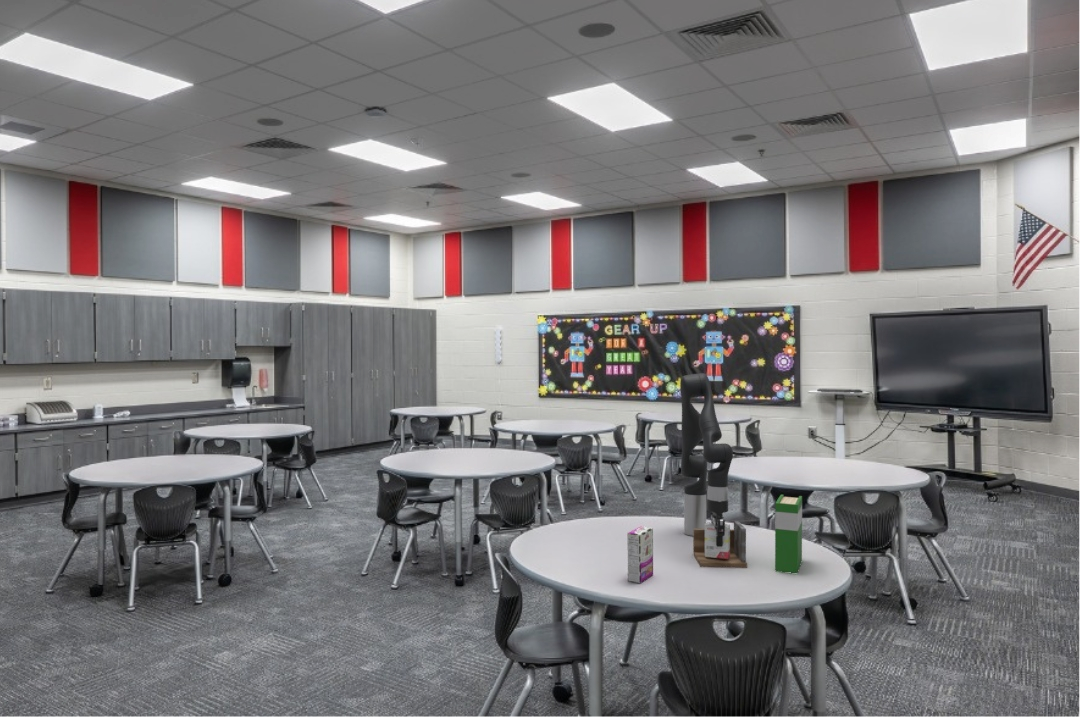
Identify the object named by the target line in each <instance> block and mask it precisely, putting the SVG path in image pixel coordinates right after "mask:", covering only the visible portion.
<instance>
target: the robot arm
mask: <svg viewBox="0 0 1080 717" xmlns="http://www.w3.org/2000/svg"><path fill="white" fill-rule="evenodd" d="M679 382H680V383H679V384H680V385H679V386H680V389H679V390H680V398H681V458H680V471H681V476H683V477H684V478H692V479H693V478H695V479H698V480H697V481H695V482H693V483H691V484H688V485H687V484H686V485H685V486H684V490H683V491H684V496H683V497H684V498H683V499H684V500H683V501H684V502H683V504H684V507H683V509H684V510H683V511H684V512H683V515H684V516H683V517H684V518H683V521H684V522H683V523H684V524H683V530H684V531H683V534H685V535H687V536H689V537H690V536H692V537H693V529H705V524H706V523H707V512H710V523H714V529H715V530H716V546H717V547H722V546H723V536H724V535H725V524H726V519H725V517H724V516H723V514H725V513H727V512H729V487H728V485H729V484H728V483H729V482H728V481H729V480H728V476H729V472H730V468H731V464H732V461H733V457H734V452H733V451H734V450H733V447H732V446H731V445H730V444H728V443H718V441H720V440H721V439H722V436H723V435H722V431H721V430H722V429H721V427H720V424H719V420H718V419H717V413H716V409H715V408H716V407H715V402H714V396H713V392H712V387H711V383H710V379H709V377H708V375H707V374H706V373H703V372H700V373H699V372H698V373H692V374H686V375H683V376H682V377H681V378H680V381H679ZM701 397H703V398H704V403H703V406H702V409H701V411H700V412H699V411H698V410H697V409H696V408H695V406H693V403H692V402H691V399H692V398H693V399H694V398H701ZM701 441H703V442H702V445H703V447H702V448H703V449H702V453H703V454H702V455H691V454H692V452H693V450H694V449H695V448H696V447H697V446H698V445H699V444H700V443H701ZM708 463H709V464H719V465H718V466H717V467H715V468H712V469H709V470H708ZM716 526H717V527H716ZM719 530H721V532H719Z"/></svg>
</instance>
